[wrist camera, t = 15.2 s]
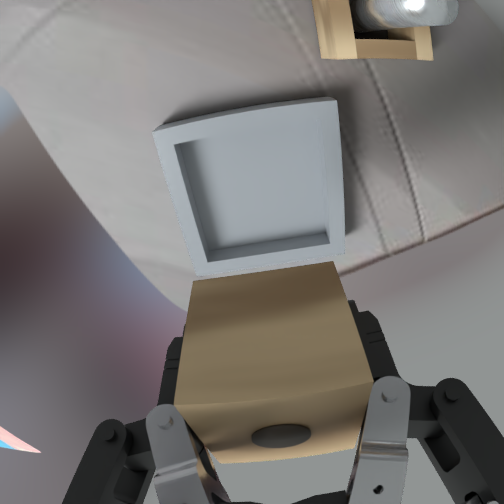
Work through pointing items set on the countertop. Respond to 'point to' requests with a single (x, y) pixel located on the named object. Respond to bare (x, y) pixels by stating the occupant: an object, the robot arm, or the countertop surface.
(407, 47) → the oak block
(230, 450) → the block
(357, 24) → the cylinder
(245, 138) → the tray
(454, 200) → the countertop surface
